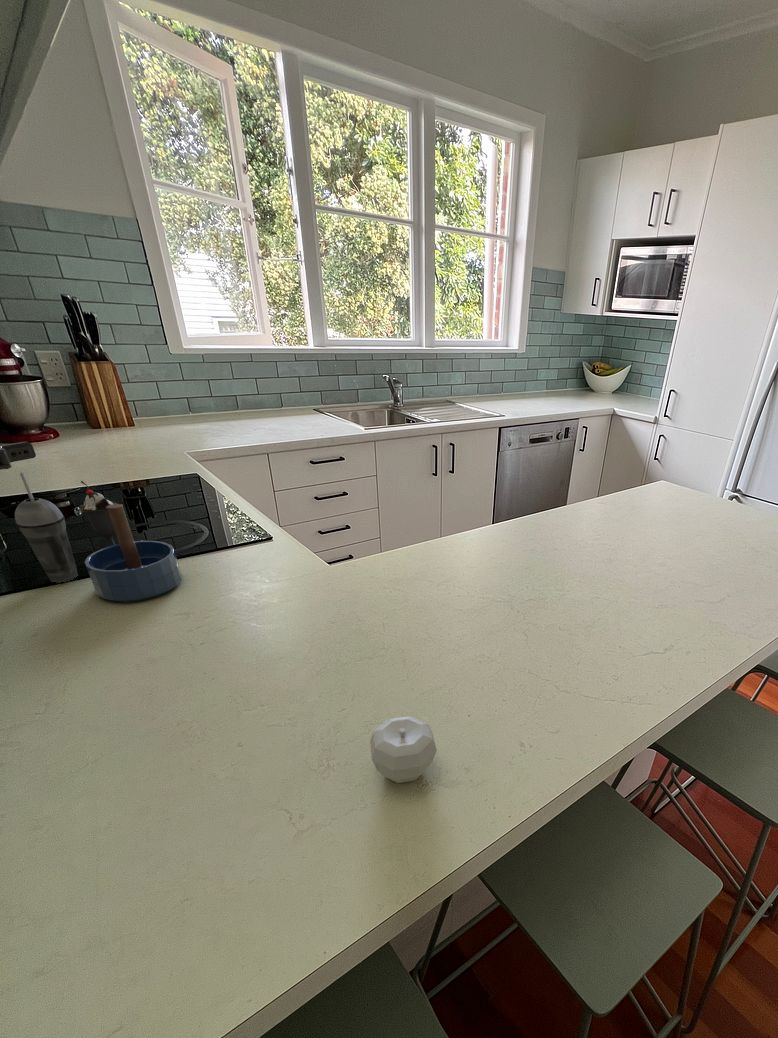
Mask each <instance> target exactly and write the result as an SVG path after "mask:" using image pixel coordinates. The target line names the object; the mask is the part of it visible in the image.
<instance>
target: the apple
mask: <svg viewBox="0 0 778 1038" xmlns="http://www.w3.org/2000/svg"><path fill="white" fill-rule="evenodd" d="M369 745H370V754H371V761H372V763H373V765H374V768H375V769H376V771H377V772H378V773H379V774H380V775H381V776H383V777H384V778H387V779H389V780H391V781H393V782H395V783H396V784H402V783H408V782H409V783H410V782H414V781H416V780H417V779H418V778H420V777H421V775H422V774H423V773H425V772H426V770H427V769H428V768H429V767H430V765H431V764H432V763H433V762H434V759H435V756H436V754H437V751H438V749H437V745H436V742H435V737H434V732H433V730H432V728H431V726H430V724H429V723H427V722H425V721H423V720H420V719H418V718H415V717H414V716H412V715H408V716H401V717H393V718H387V719H386V720H385V721H384V722H383V723H382V724H380V725H379V726H378V727H376V729H375V730H373V731H372V734H371V738H370V741H369Z"/></svg>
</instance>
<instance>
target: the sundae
mask: <svg viewBox="0 0 778 1038" xmlns="http://www.w3.org/2000/svg"><path fill="white" fill-rule="evenodd" d="M80 483H81V484H83V485H85V486H86V488H87V490H86V491H85V495H86V496H85V498H84V501H83V504H81V505H79V506H78V510H79V511H80V512H81V513H84V514H85V515H86V516H85V517H86V518H87V519H88V521H89V524H90V525H91V527H92V529H93V530H94V531H95V533H96V534H97V535H99V536H101V537H104V538H105V539H106V542H107V545H108V546H107V547H109V546H113V545H116V544H117V543H115V540H114V538H113V537H114V535H116V533H115V530H114V527H113V525H112V522H111V519H110V516H109V513H108V510H107V506H109V505H112V504H118V503H117V502H114V501H110V500H109V499H107V498H105V497H104V495H103V494H101V493H99V492H96V491H93V490H92V489H90V487H89V486H88V485H87V484H86V483H85V482H84V480H80Z"/></svg>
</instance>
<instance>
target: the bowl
mask: <svg viewBox="0 0 778 1038" xmlns="http://www.w3.org/2000/svg"><path fill="white" fill-rule="evenodd" d="M134 542H135V545H136V548H137V551H138V554H139V558H140V561H141V564H142V565H146V566H142V567H138V568H133V569H125V568H127V566H126V563H125V560H124V557H123V554H122V551H121V548H120V545H119V543H115V544H116V545H113V546H109V547H108V546H106V547H103V548H100V549H99V550H96V551H94V552H92V553H90V554H89V555H88V556H87V557H86V558H85V560H84V566H85V568H86V570H87V574H88V576H89V578H90V582H91V584H92V587H93V589H94V591H95V593H96V596H98V597H99V598H102V599H104V600H109V601H114V602H118V603H119V602H121V603H130V602H131V603H132V602H140V601H141V602H142V601H146V600H150V599H154V598H157V597H159V596H162V595H165V594H167V593H168V592H170V591H172V590H173V589H174V588H175V587H176V586H177V585H179V583H181V581H182V576H183V575H182V572H181V568H180V564H179V561H178V558H177V555H176V551H175V548H174V547H173V546H172V544H170V543H167V542H164V541H158V540H137V541H136V540H134ZM124 569H125V570H124Z"/></svg>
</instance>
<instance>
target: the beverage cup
mask: <svg viewBox="0 0 778 1038" xmlns="http://www.w3.org/2000/svg"><path fill="white" fill-rule="evenodd" d="M19 476H20V477H21V480H22V482H23V485H24V488H25V490H26V492H27V495H28V498H26V499H24V500H22V501H21V502H20V503H19V504H18V505H17V507H16V508H15V511H14V521H15V525H16V527H17V528H18V529H19V530H20V532H21V533H22V535H23V536H24V537H25V538H26V540H27V542H28V544H29V546H30V547H31V549H32V551H33V552H34V555H35V557H36V559H37V560H38V562H39V564H40V565H41V567H42V569H43V571H44V573H45V575H47V577H48V579H49V581H50V582H51V583H53V582H56V583H55V584H62V583H61V582H64V583H68V582H71V581H70V580H72V581H74V580H75V579H74V578H76V577H77V576H78V577H79V573H78V569H77V564H76V560H75V558H74V554H73V550H72V546H71V543H70V539H69V536H68V532H67V525H66V521H65V516H64V515H63V512H61V510H60V509H59V508H58V507H57V506H56V505H55V504H54V503H53V502H51V501H49V500H47V499H44V498H40V497H34V495H33V493H32V491H31V488H30V486H29V483H28V481H27V479H26V475H25V474H24V472H23V471H22V472H19ZM78 577H77V578H78ZM77 578H76V579H77ZM73 579H74V580H73ZM67 581H68V582H67Z"/></svg>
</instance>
